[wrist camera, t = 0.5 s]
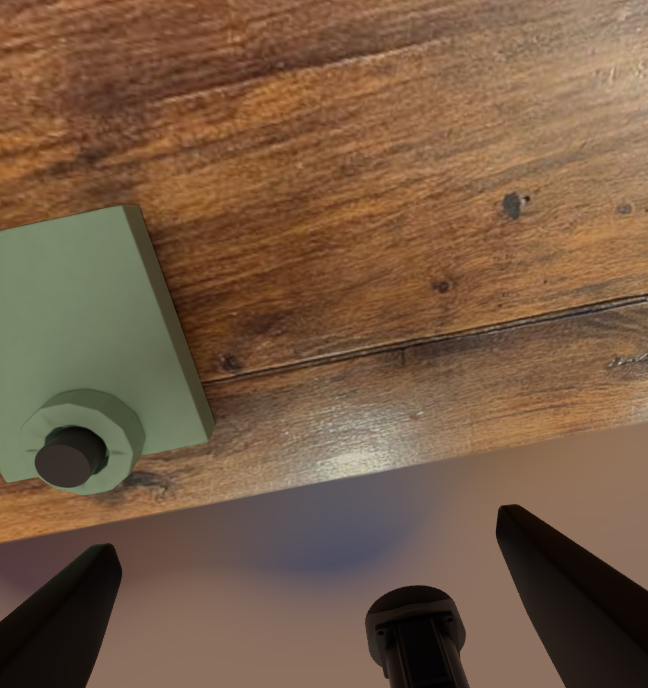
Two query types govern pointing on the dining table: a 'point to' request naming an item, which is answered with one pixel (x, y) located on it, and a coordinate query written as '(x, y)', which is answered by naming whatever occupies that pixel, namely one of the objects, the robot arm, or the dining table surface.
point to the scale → (92, 346)
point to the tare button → (70, 457)
